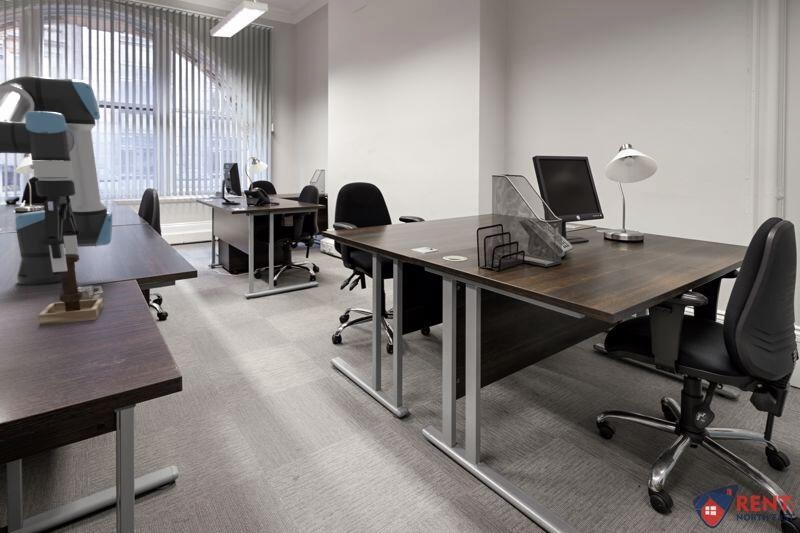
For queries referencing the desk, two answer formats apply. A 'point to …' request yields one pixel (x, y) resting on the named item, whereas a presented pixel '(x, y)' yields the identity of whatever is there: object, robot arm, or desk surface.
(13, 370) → the desk surface
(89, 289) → the grey rectangular block
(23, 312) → the desk surface
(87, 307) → the socket
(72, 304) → the bolt
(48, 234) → the robot arm
